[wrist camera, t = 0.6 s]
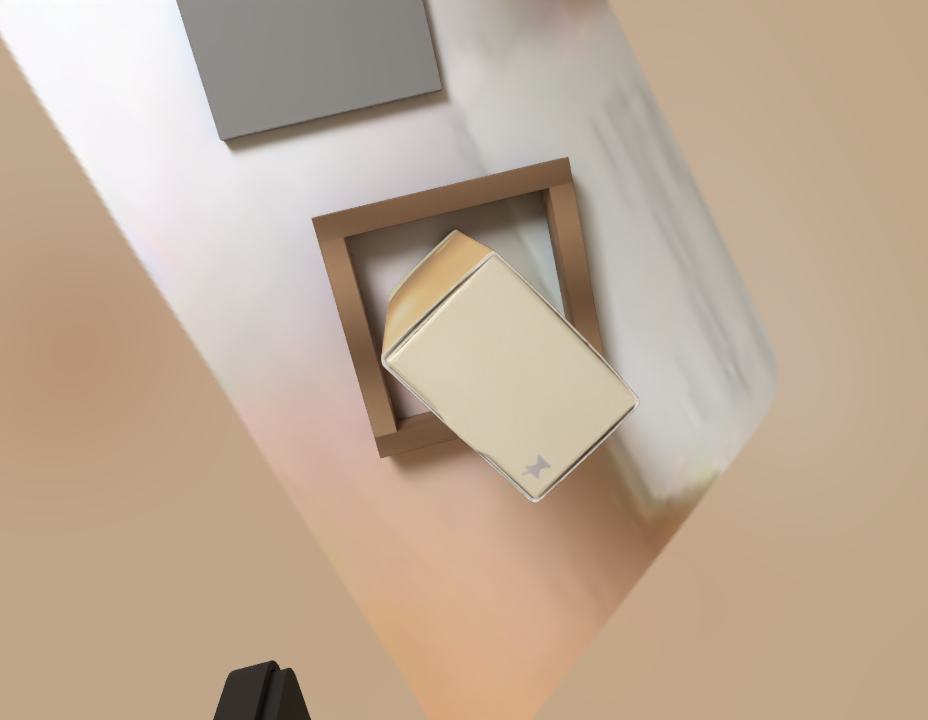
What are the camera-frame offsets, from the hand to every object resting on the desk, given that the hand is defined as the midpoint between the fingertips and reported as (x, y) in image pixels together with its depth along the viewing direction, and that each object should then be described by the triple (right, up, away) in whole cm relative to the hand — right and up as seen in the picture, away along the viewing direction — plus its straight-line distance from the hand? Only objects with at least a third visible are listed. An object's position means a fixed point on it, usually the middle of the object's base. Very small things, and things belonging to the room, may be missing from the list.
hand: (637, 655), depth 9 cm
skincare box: (-2, +6, +20) cm, 22 cm away
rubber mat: (-9, +18, +16) cm, 26 cm away
